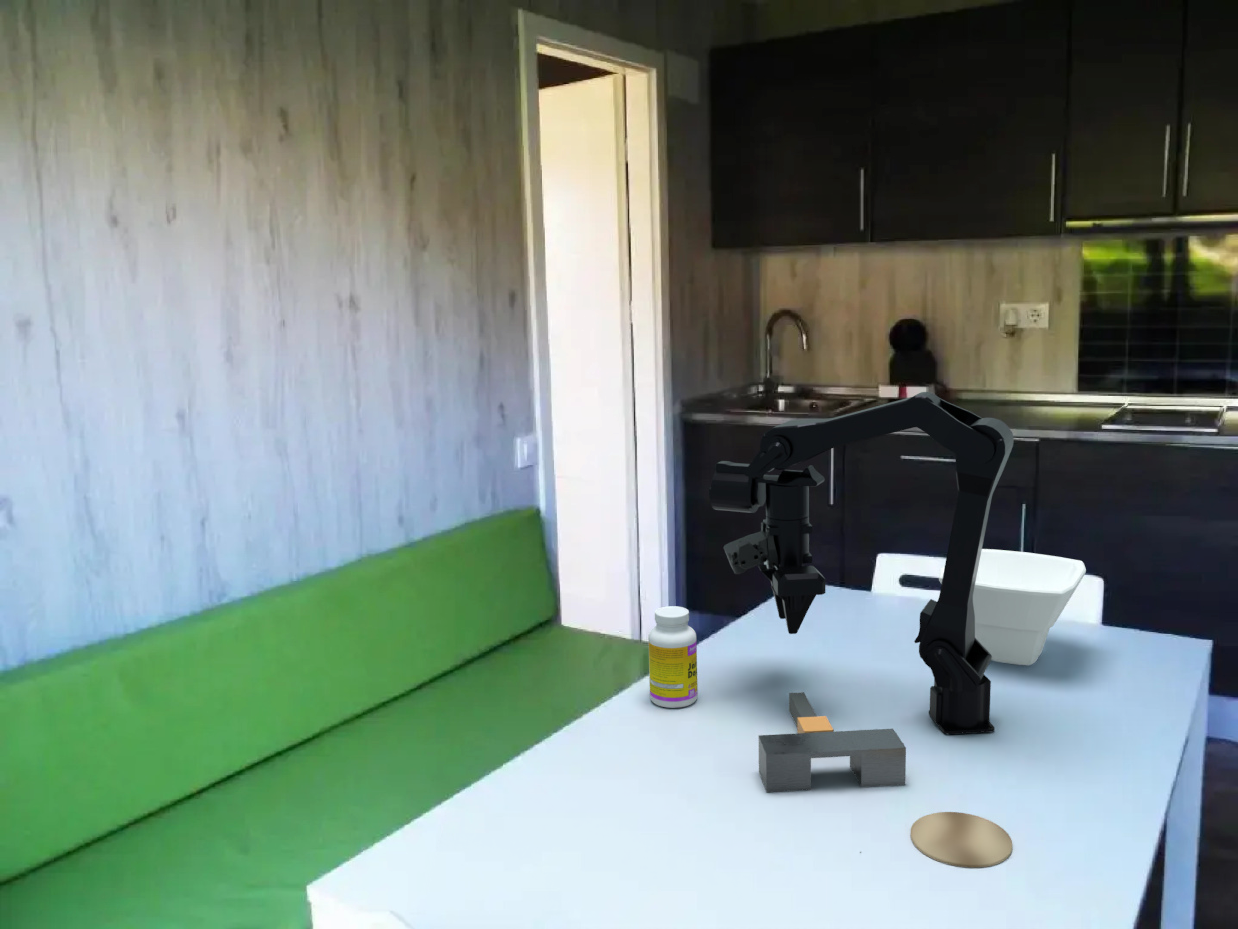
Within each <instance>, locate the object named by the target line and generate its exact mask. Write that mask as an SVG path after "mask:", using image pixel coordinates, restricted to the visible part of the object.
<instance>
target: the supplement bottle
mask: <svg viewBox="0 0 1238 929" xmlns="http://www.w3.org/2000/svg"><path fill="white" fill-rule="evenodd" d="M689 620H690V611H689V609H687V608H686V607H683V606H678V605H677V606H675V605H671V606H670V605H669V606H662V607H659V608H657V609H655V611H654V621H655V624H656V626H653V628H651V629H650V631H649V632H648V637H647V638H648V639H647V640H648V670H649V671H648V674H649V675H648V677H649V699H650V701H652V703H654V704H655V705H656V706H659V707H662V708H663V707H664V708H671V709H676V708H685V707H688V706H690V705H693V704H694V703H695V702H696V701H697V699H698V652H697V650H698V648H697V643H698V642H697V633H696V631H695V630H694V629H693V628H692V627H691V626H690V625H689V624H688V623H689Z"/></svg>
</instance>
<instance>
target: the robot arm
mask: <svg viewBox="0 0 1238 929" xmlns="http://www.w3.org/2000/svg"><path fill="white" fill-rule="evenodd" d="M913 428H917V429H919V430H921V431H922V432H924V433H925V434H926V435H928V436H929V437H930V438H932V439H934V441H936V442H937V443H938V444H939V445H941V446H942V447H943V448H945V449H947V450H949V451H950V452H953V453H954V454H955V475H956V476H955V477H956V484H957V485H956V486H957V498H956V505H955V509H954V514H953V521H952V526H951V532H950V538H949V542H948V546H947V547H948V548H947V554H946V558H945V564H944V565H945V568H944V574H943V579H942V584H941V583H940V585H941V586H940V591H939V596H938V599H937V601H936V600H934V599H932V598H931V599H930V600H929V601H927V604H926V605H925V606H924V607H923V609H922V610H921V611H920V613H919V631H918V635H917V637H916V638H915V639H914V641H913V642H914V644H918V643H919V645H918V654H919V657H920V659H922V661H923V662H924V664H925V665H926V666H927V667H928V668H930V670H931V673H932V676H933V679H934V680H933V685H931V686H930V687H929V688H930V689H929V710H928V716H929V717H930V718H931V719H932V721H934V723H935V724H936V726H938V727H939V729H940V731H942V732H943V733H944V734H945V735H955V734H956V735H960V734H962V735H963V734H975V733H976V734H977V733H979V734H980V733H994V732H995V726H994V725H993V724H992V722H990V716H991V714H990V712H991V686H992V685H991V684H992V683H991V682H992V680H990V679H989V677H987V676H986V675H985V672H986V671H987V669H988V666H989V665H990V662H991V661H992V660H991V658H992V655H991V654H990V653H989V652H988V651H987V650H986V649H985V648H984V647H983V646H982V645H981V643H980V642H979V641H978V640H977V639H976V638H975V614H974V607H973V592H974V587H975V582H976V576H977V571H978V566H979V561H980V556H981V551H982V549H983V545H984V540H985V534H986V529H987V524H988V519H989V513H990V510H991V503H992V498H993V495H994V492H995V490H996V488H997V485H998V483H999V480H1000V478H1001V476H1002V474H1003V473H1004V472H1003V471H1004V470H1005V467H1006V465H1007V461H1008V460H1009V457H1010V454H1011V452H1012V449H1013V448H1014V438H1015V437H1014V434H1013V431H1011V429H1010V428H1009V426H1008V425H1007V423H1005V422H1004V421H1002V420H1001V419H998V418H994V417H984V418H983V417H981V416H979V415H977V414H976V413H975V412H973V411H970V410H967V409H965V408H963V407H961V406H958V405H956V404H954V403H951V402H949V401H946V400H945V399H942V398H941V397H939V396H938V395H936V394H934V393H933V392H930V391H921V392H919V393H917V394H915V395H914V396H913V395H912V396H910V397H906V398H903V399H899V400H896V401H890V402H888V403H885V404H881V405H877V406H873V407H869V408H866V409H862V410H859V411H858V410H857V411H854V412H851V413H847V414H843V415H840V416H835V417H831V418H807V419H806V418H805V419H796V420H794V419H793V420H789V421H788V420H787V421H786V422H782V423H780V424H778V425H776V426H773V427H771V428H770V429H768V430H766V431H764V433H763V435H762V437H761V439H760V444H759V451H758V452H757V454H756V456H755V457H754V458H753V459H752V461H751V462H750V463H738V462H733V461H729V460H721V461H719V462H716V463H715V472H714V474H713V476H712V479H711V482H710V487H709V489H708V495H709V496H708V497H709V498H708V499H709V501H710V502H709V504H710V505H711V508H712V509H713V510H716V511H727V512H728V511H729V512H737V513H739V512H740V513H749V514H750V513H752V514H755V513H756V512H757V511H758V509H759V507H763V506H764V505H765V519H762V520H763V521H762V522H760V531H758V532H755V533H752V534H748V535H746V536H743V537H740V538H737V539H735V540H733V541H730V542H728V543H726V544H724V546H723V550H724V553H725V555H726V557H727V560H728V562H729V565H730V567H731V569H732V571H733V573H734V574H735V575H740V574H743V573H746V571H747V570H749V569H752V568H754V567H756V566H757V567H758V568H759V570H760V572H761V573H762V574H763V575H764V576H765V577H766V578H767V579H768V580H769V581H770V584H771V586H770V587H771V589H772V594H773V597H774V602H775V605H776V609H777V613H778V617H779V619H781V620H783V619H784V620H785V622H786V628H787V632H788V634H789V635H796V634H798V631H799V629H800V627H801V625H802V624H803V621H804V620H805V618H806V616H807V613H808V611H809V609H810V607H811V605H812V603H813V602H814V600H815V598H816V597H817V595H818V596H819V595H820V596H822V595H825V594H826V578H825V577H824V575H823V574H822V573H821V572H820V571H819V570H818V569H817V568H816V567H815V566H814V565H803V564H813V555H812V554H811V553H810V551H809V550H810V544H809V543H810V534H813V525H812V524H811V523H810V517H809V516H810V512H809V511H810V510H809V509H810V508H809V506H810V504H809V503H810V498H809V497H810V493H809V492H810V490H809V489H810V488H809V487H811V488H812V487H814V488H816V487H817V486H819V485H820V484H822V483H824V482H825V477H824V476H823V475H822V474H821V473H819V472H818V471H817V470H816V468H814V465H809V466H807V467H805V468H804V470H793V469H791V468H792V467H795V466H797V465H799V464H802V463H803V462H806V461H808V460H810V459H812V458H814V457H816V456H819V455H821V454H823V453H825V452H826V451H827V452H828V451H829V450H831V449H834V448H839V447H842V446H846V445H850V444H855V443H858V442H862V441H866V440H870V439H874V438H878V437H882V436H885V435H889V434H893V433H898V432H903V431H906V430H909V429H913ZM773 470H777V471H778V470H779V471H781V472H780V473H779V475H778V474H777V475H776V474H769V473H770V472H772V471H773Z"/></svg>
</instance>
